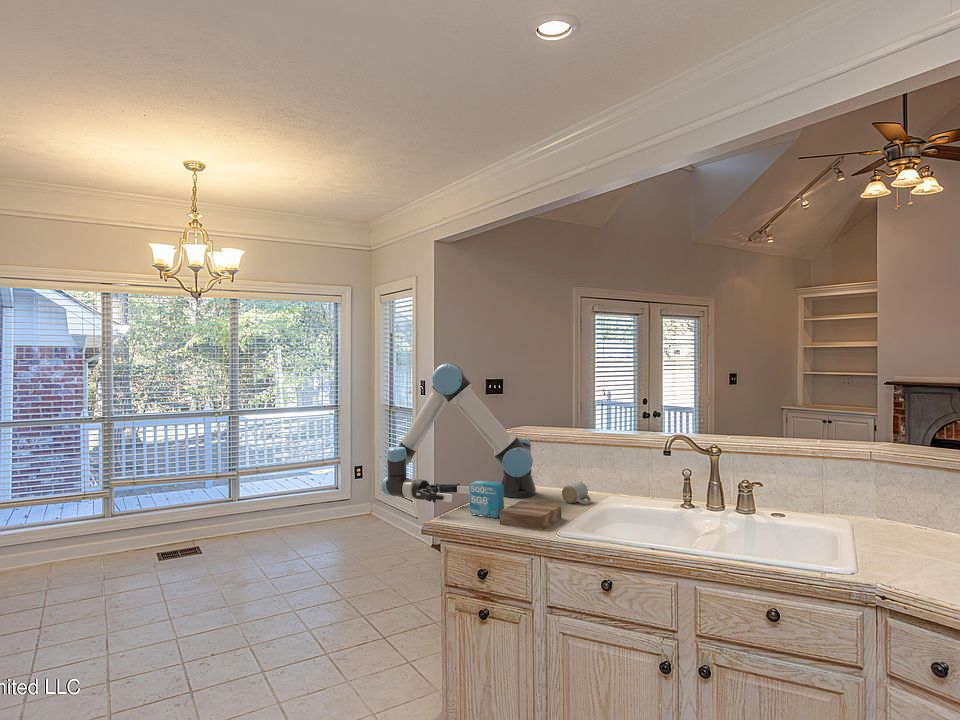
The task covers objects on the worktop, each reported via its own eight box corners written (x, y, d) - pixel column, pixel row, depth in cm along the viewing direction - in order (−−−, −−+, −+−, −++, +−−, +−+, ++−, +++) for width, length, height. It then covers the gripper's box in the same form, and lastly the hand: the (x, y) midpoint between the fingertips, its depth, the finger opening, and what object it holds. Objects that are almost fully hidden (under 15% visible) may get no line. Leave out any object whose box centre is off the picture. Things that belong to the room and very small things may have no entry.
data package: (469, 515, 222) (468, 482, 222) (475, 512, 226) (474, 480, 226) (498, 518, 217) (497, 485, 216) (504, 515, 220) (503, 482, 220)
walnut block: (521, 514, 223) (521, 501, 223) (561, 519, 215) (561, 505, 214) (499, 525, 209) (499, 511, 209) (541, 531, 201) (541, 516, 201)
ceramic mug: (560, 502, 238) (560, 482, 238) (572, 498, 244) (572, 479, 244) (583, 507, 231) (583, 486, 231) (595, 502, 237) (594, 483, 237)
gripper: (435, 492, 249) (479, 497, 238) (396, 505, 228) (442, 512, 216) (435, 473, 249) (479, 478, 238) (396, 485, 228) (442, 491, 216)
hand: (462, 494), depth 227 cm, fingers open, 13 cm apart
